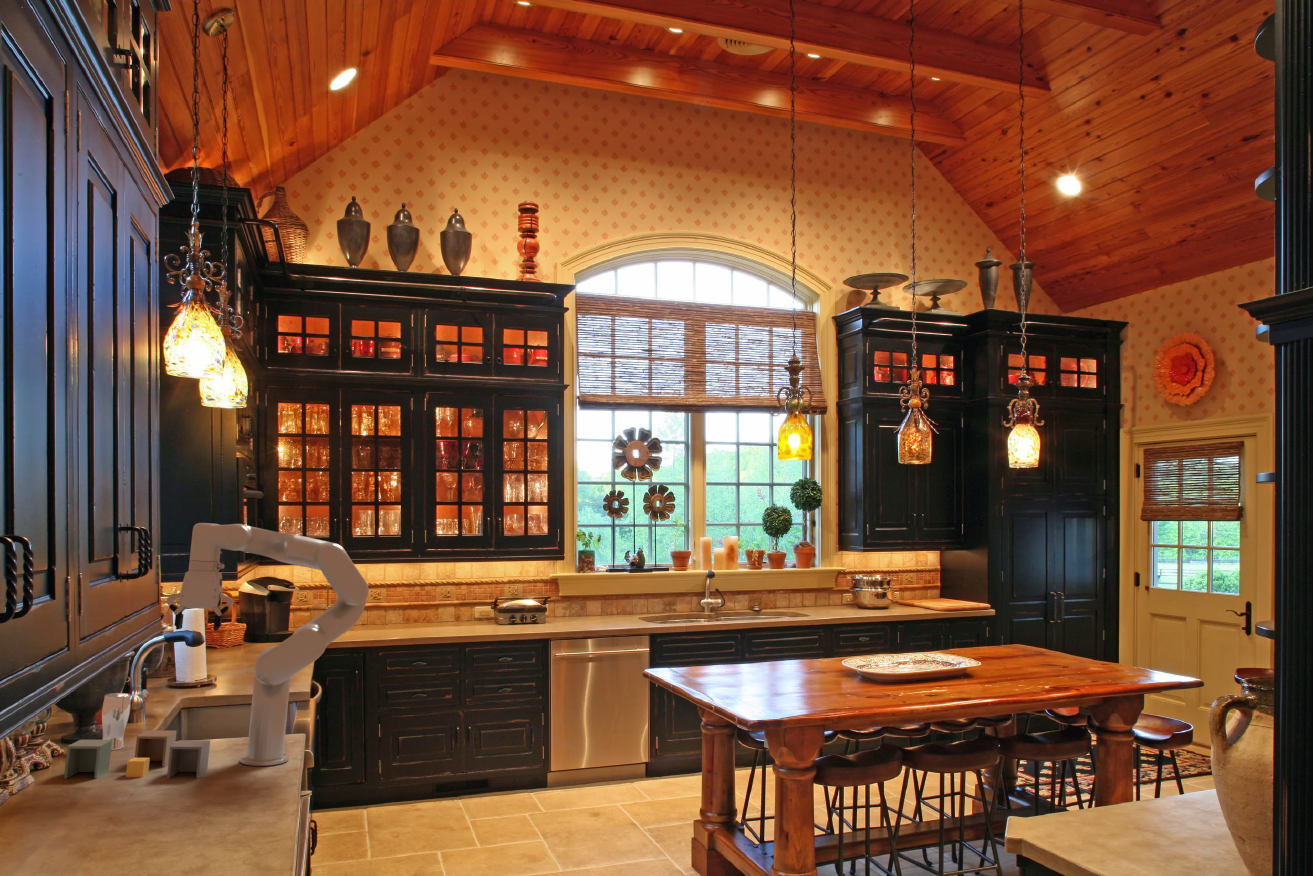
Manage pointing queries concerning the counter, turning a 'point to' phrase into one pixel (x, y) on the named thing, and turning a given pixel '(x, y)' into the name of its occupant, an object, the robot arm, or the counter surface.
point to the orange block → (137, 767)
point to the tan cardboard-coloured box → (155, 745)
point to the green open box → (88, 757)
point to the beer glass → (115, 718)
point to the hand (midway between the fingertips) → (197, 629)
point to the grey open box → (189, 757)
